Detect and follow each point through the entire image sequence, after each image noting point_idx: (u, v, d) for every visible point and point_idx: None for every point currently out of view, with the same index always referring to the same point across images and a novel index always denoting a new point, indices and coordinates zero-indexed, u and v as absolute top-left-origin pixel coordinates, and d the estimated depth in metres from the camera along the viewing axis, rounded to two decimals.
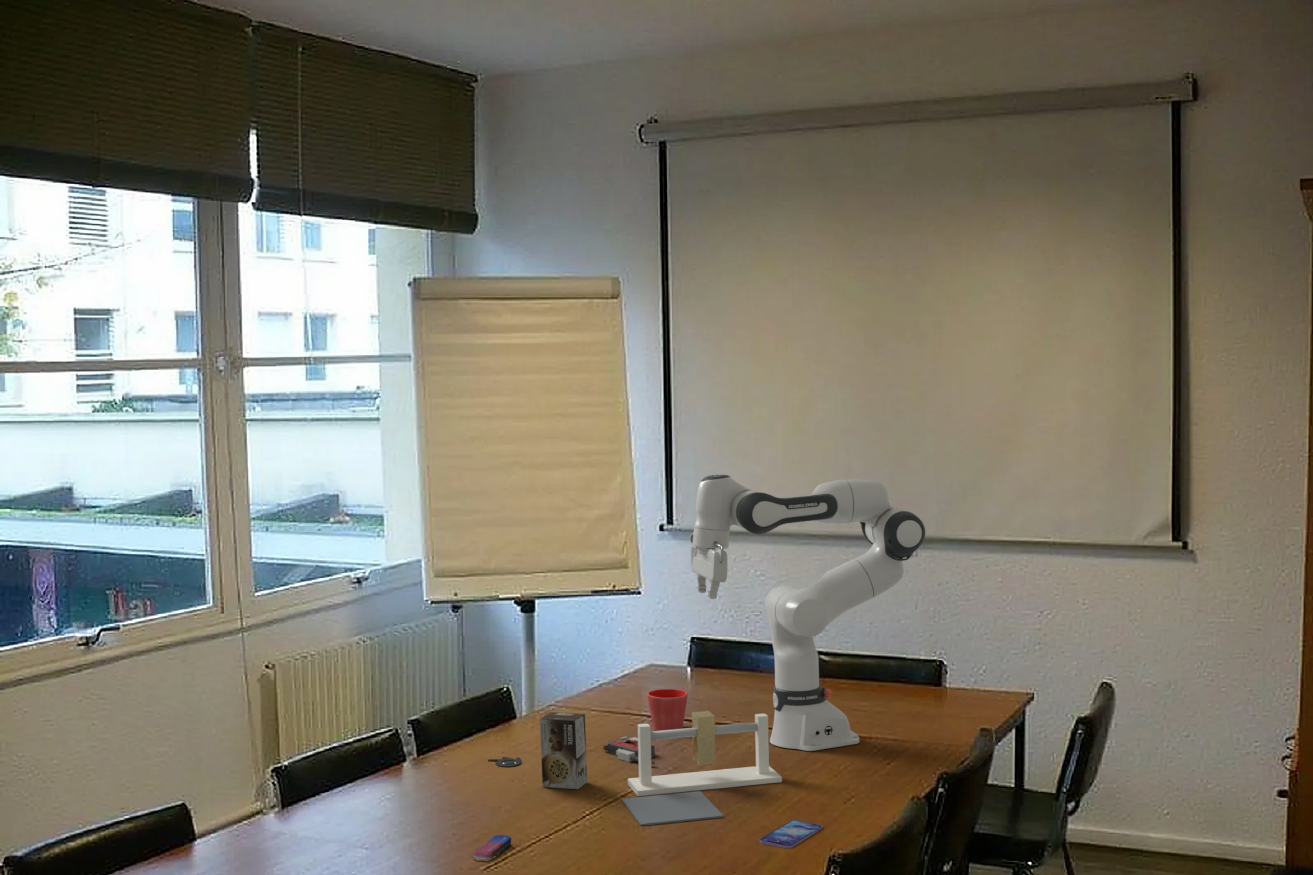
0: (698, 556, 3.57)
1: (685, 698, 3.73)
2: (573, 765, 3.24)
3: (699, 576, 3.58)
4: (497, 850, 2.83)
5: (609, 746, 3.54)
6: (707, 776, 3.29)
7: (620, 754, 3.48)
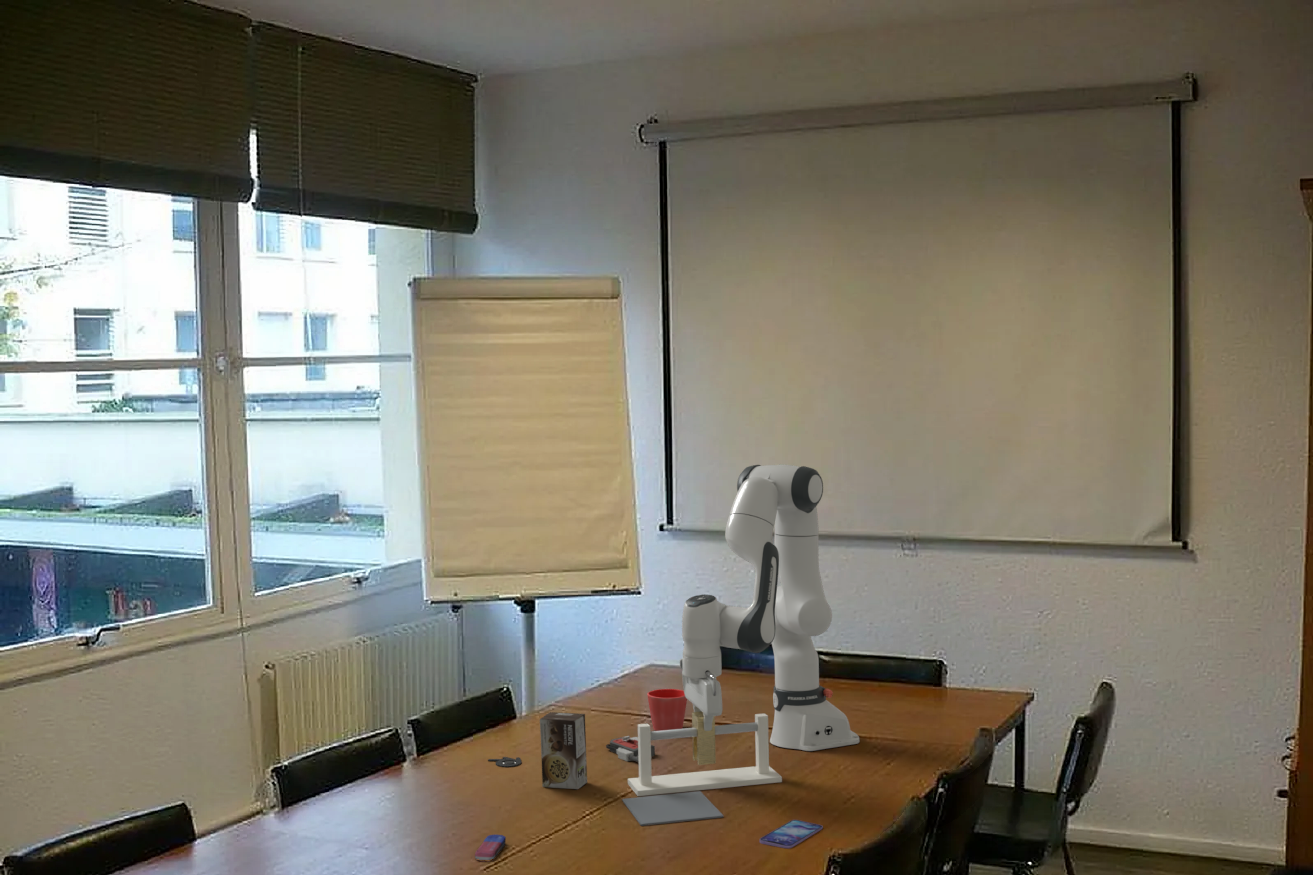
0: (690, 683, 3.31)
1: (685, 698, 3.73)
2: (573, 765, 3.24)
3: (695, 706, 3.30)
4: (497, 849, 2.83)
5: (611, 745, 3.56)
6: (707, 776, 3.29)
7: (619, 753, 3.49)
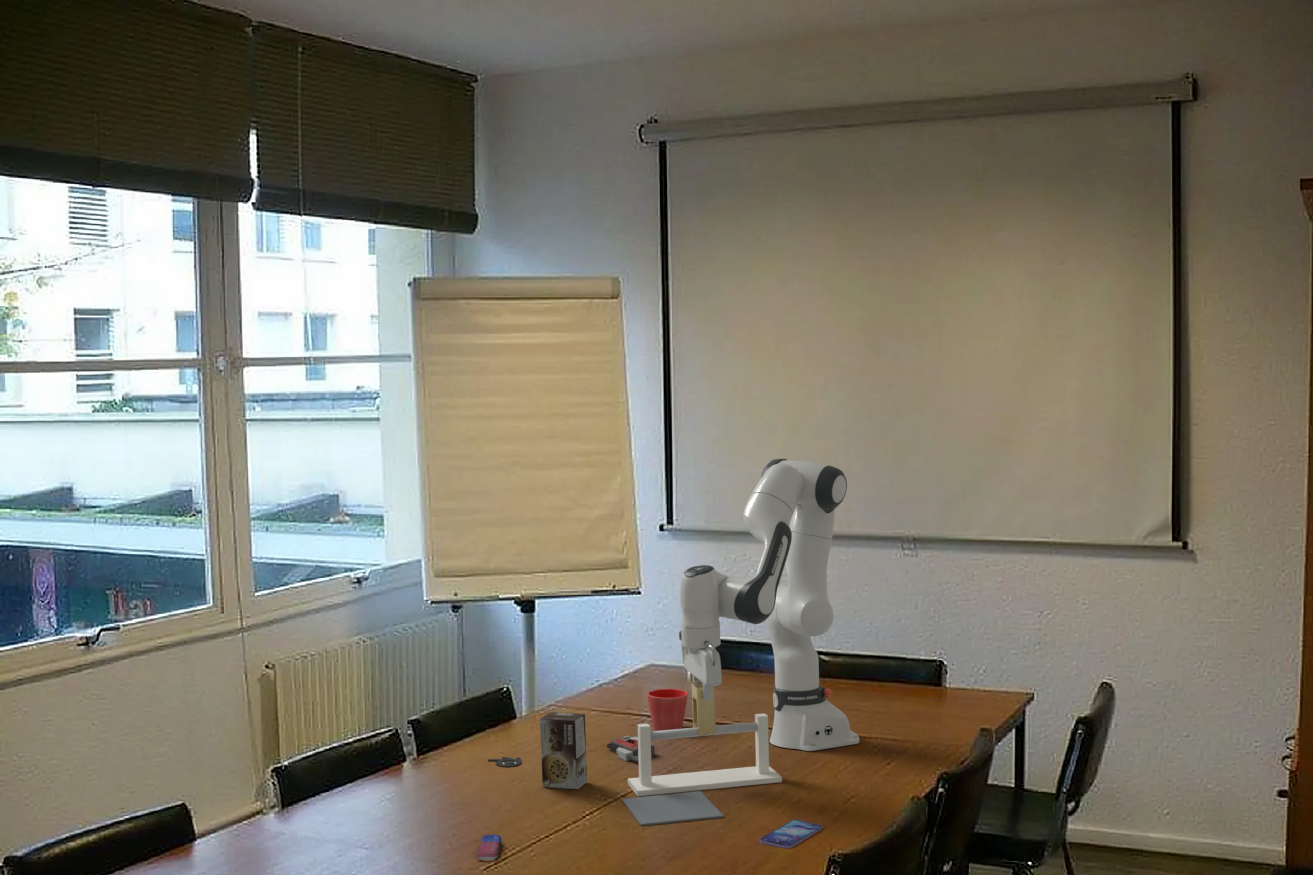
0: (689, 654, 3.30)
1: (685, 698, 3.73)
2: (573, 765, 3.24)
3: (695, 677, 3.30)
4: (498, 849, 2.83)
5: (612, 744, 3.56)
6: (707, 776, 3.29)
7: (619, 753, 3.49)
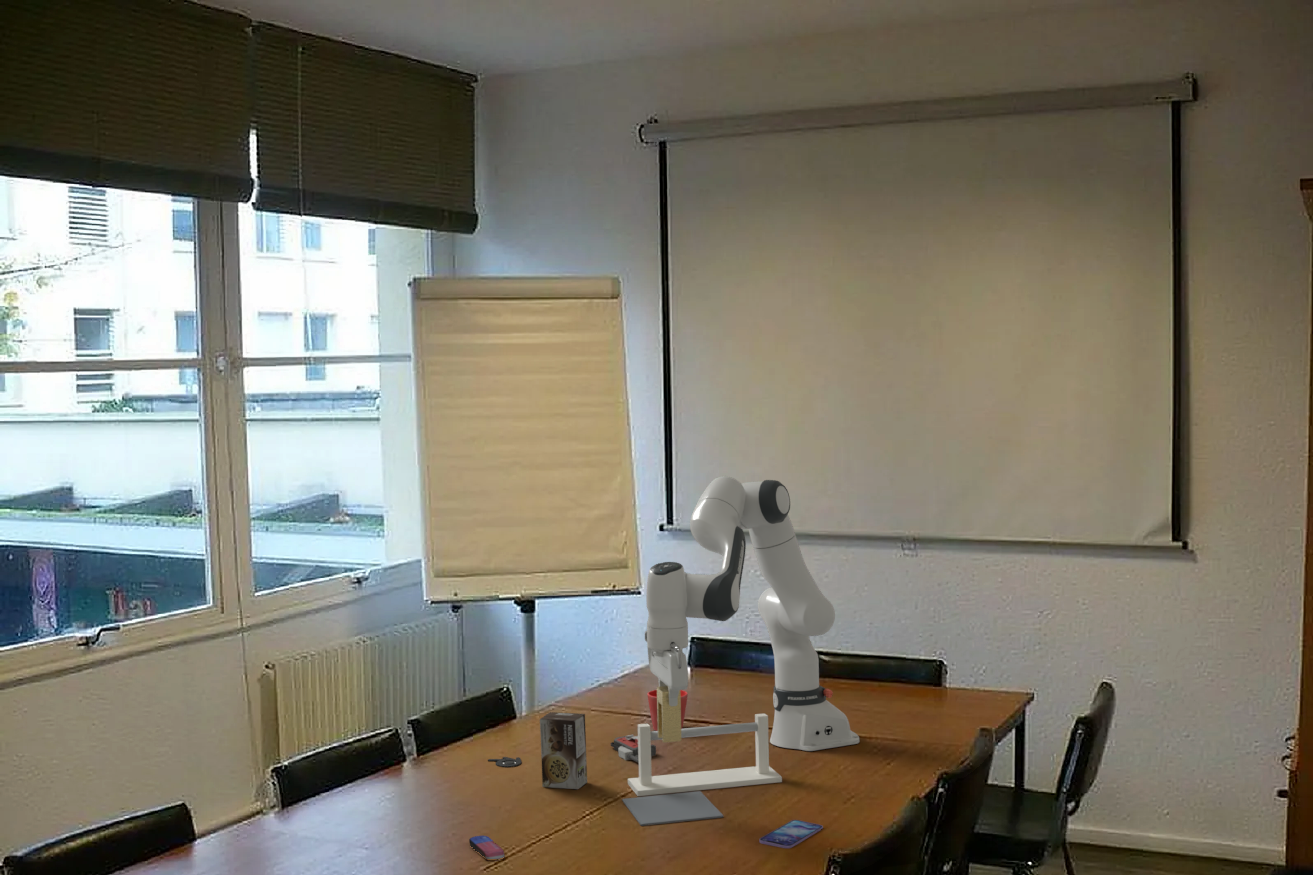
0: (655, 656, 3.12)
1: (685, 698, 3.73)
2: (573, 765, 3.24)
3: (661, 680, 3.11)
4: None
5: (615, 743, 3.57)
6: (707, 776, 3.29)
7: (619, 752, 3.50)
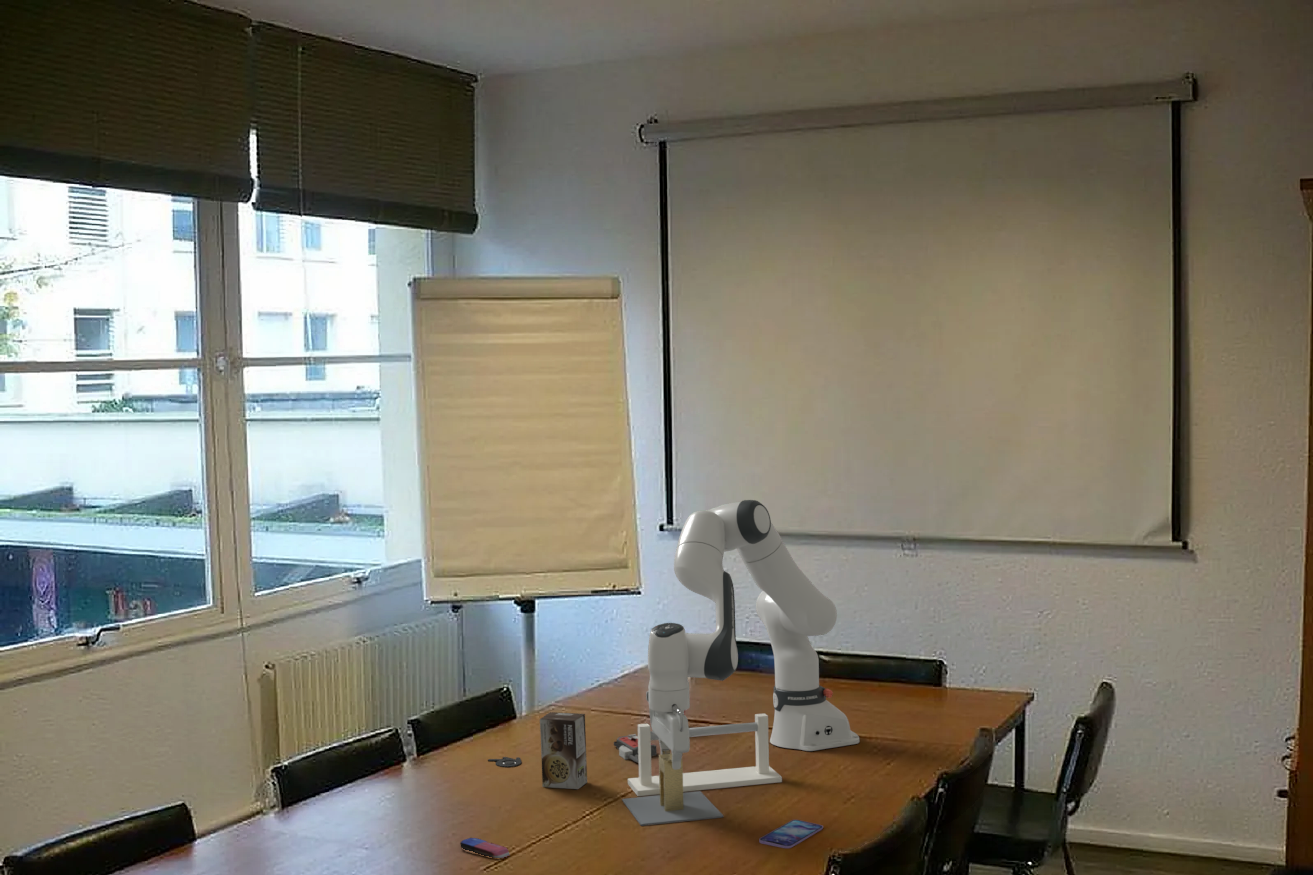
0: (657, 717, 3.13)
1: None
2: (573, 765, 3.24)
3: (661, 739, 3.13)
4: None
5: (617, 742, 3.58)
6: (707, 776, 3.29)
7: (620, 751, 3.51)
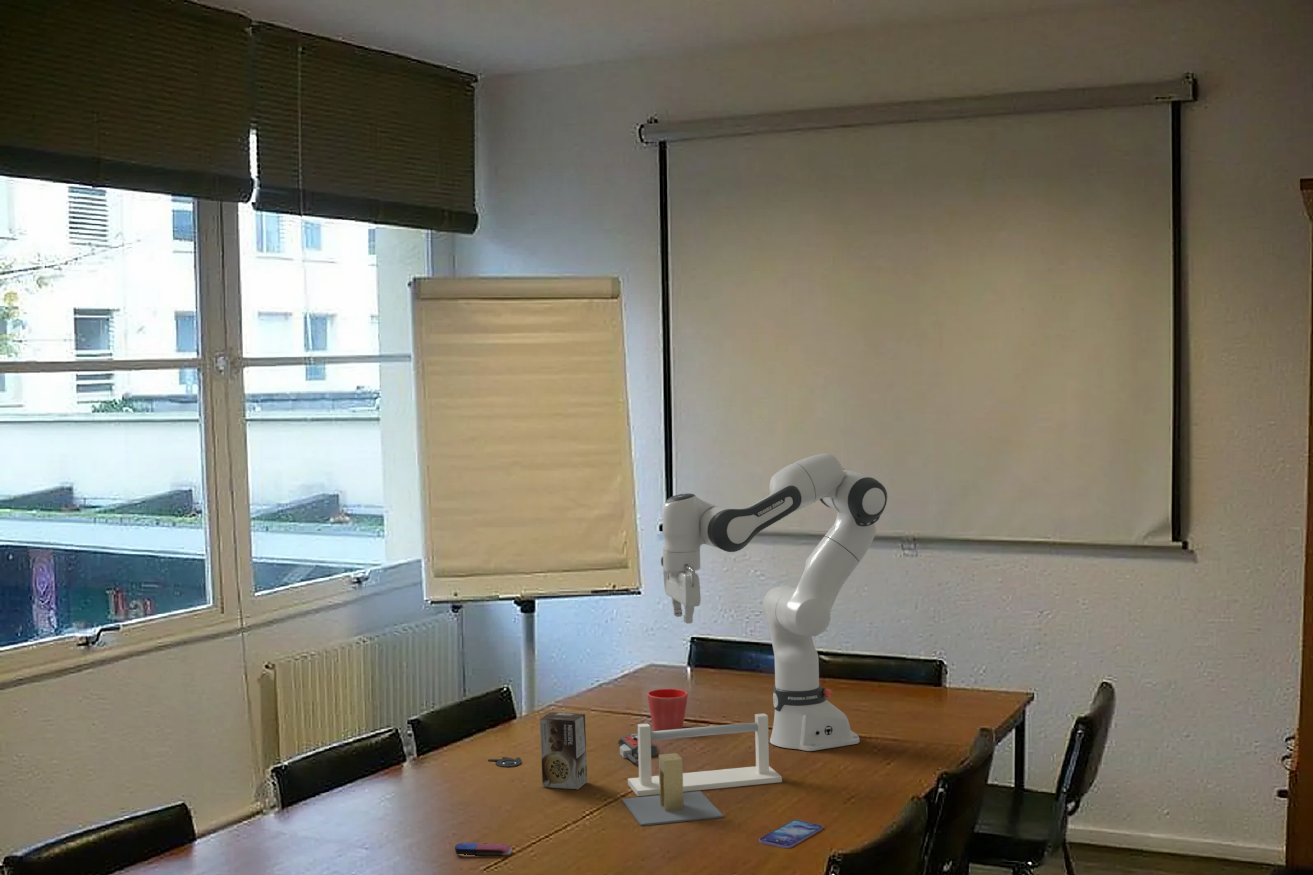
0: (671, 579, 3.45)
1: (685, 698, 3.73)
2: (573, 765, 3.24)
3: (674, 600, 3.46)
4: None
5: (621, 741, 3.59)
6: (707, 776, 3.29)
7: (620, 750, 3.52)
